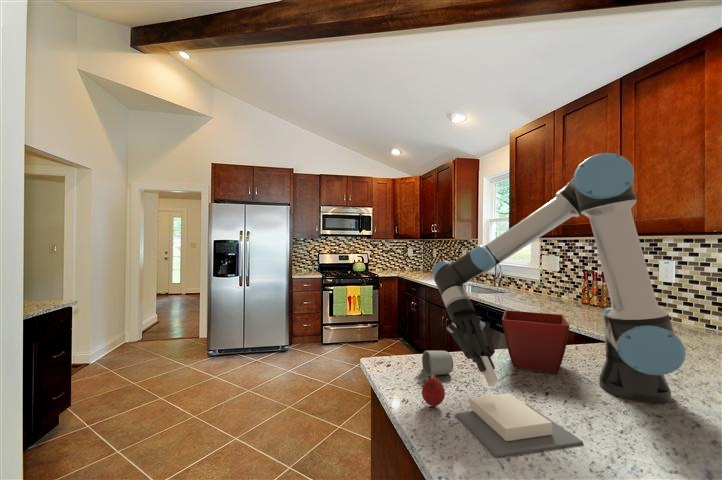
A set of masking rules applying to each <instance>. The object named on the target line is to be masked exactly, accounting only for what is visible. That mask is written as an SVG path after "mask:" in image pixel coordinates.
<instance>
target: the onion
mask: <svg viewBox="0 0 722 480" xmlns="http://www.w3.org/2000/svg"><path fill="white" fill-rule="evenodd" d="M436 376H437V375H432V376H430V378H428V379H427V380H426V381H424V383H423V385H422V387H421V396H422V399H423V401H424V402H425V403H426V404H427V405H429V407H431V408H436V407H438V406H439V405H440V404H442V403H443V401H444V400H445V398H446V391H445V388H444V385H443V383H441V382H440V381H439V380H438V379H437V377H436Z"/></svg>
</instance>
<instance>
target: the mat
mask: <svg viewBox="0 0 722 480" xmlns="http://www.w3.org/2000/svg"><path fill="white" fill-rule="evenodd" d="M525 405H527V406H528V407H530V408H531V409H533V410H534V411H536V412H537V413H539V414H540V415H542V416H543V417H545V418H546V419H548V420H549V421H551V422H552V435H545V436H539V437H532V438H525V439H518V440H512V441H506V440H504V439H503V438H502V437H501V436H500V435H499V434H498V433H497V432H496V431H495V430H493V429H492V428H491V427H490V426H489V425H488V424H487V423H486V422H485V421H484V420H482V419H481V418H480V417H479V416H478V415H477V414H476V413H475V412H474V411H473V410H471V411H470V410H469V411H463V412H455V413H454V415H455V417H456V418H457V419H458V420H459V421H460V422H461V423H462V424H463V425H464V426H465V427H466V428H467V429H468V431H470V432H471V434H472V435H474V437H475V438H477V440H479V442H481V444H482V445H483V446H484V447H485V448H486V449H487V450H488V452H490V453H491V454H492V455H493V457H495V458H496V459H497V458H503V457H504V458H505V457H509V456H516V455H522V454H528V453H534V452H541V451H548V450H553V449H560V448H566V447H571V446H572V447H573V446H579V445H583V444H584V441H583V440H581V438H579V437H578V436H576V435H574V434H573V433H571V432H570V431H568V430H567V429H565V428H563V427H562V426H560V425H559V424H558V423H556V422H555V421H553V420H551V419H550V418H549V417H547V416H545V415H544V414H543V413H541V412H540V411H538V410H536V409H535V408H533V407H532V406H530V405H529V404H528V403H527V404H526V403H525Z"/></svg>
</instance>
